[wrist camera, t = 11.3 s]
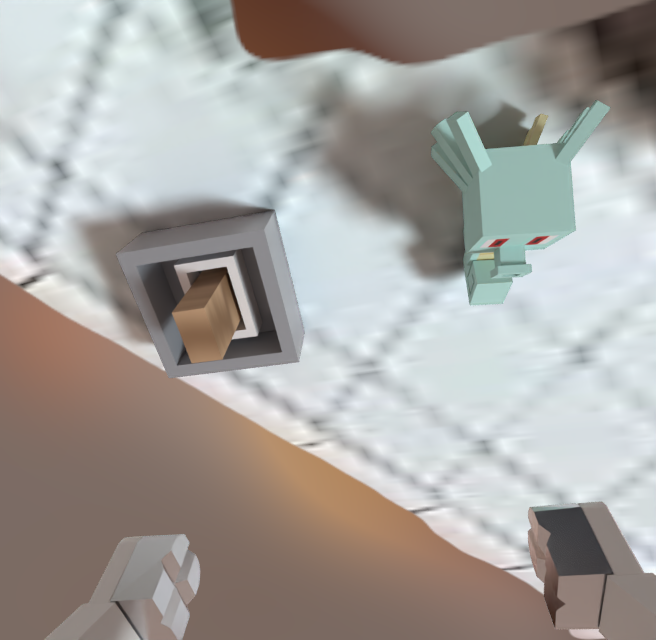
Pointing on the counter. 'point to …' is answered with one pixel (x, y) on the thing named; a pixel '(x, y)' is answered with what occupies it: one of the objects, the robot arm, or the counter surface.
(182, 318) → the tan wooden brick
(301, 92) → the counter surface
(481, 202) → the toy
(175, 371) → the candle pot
